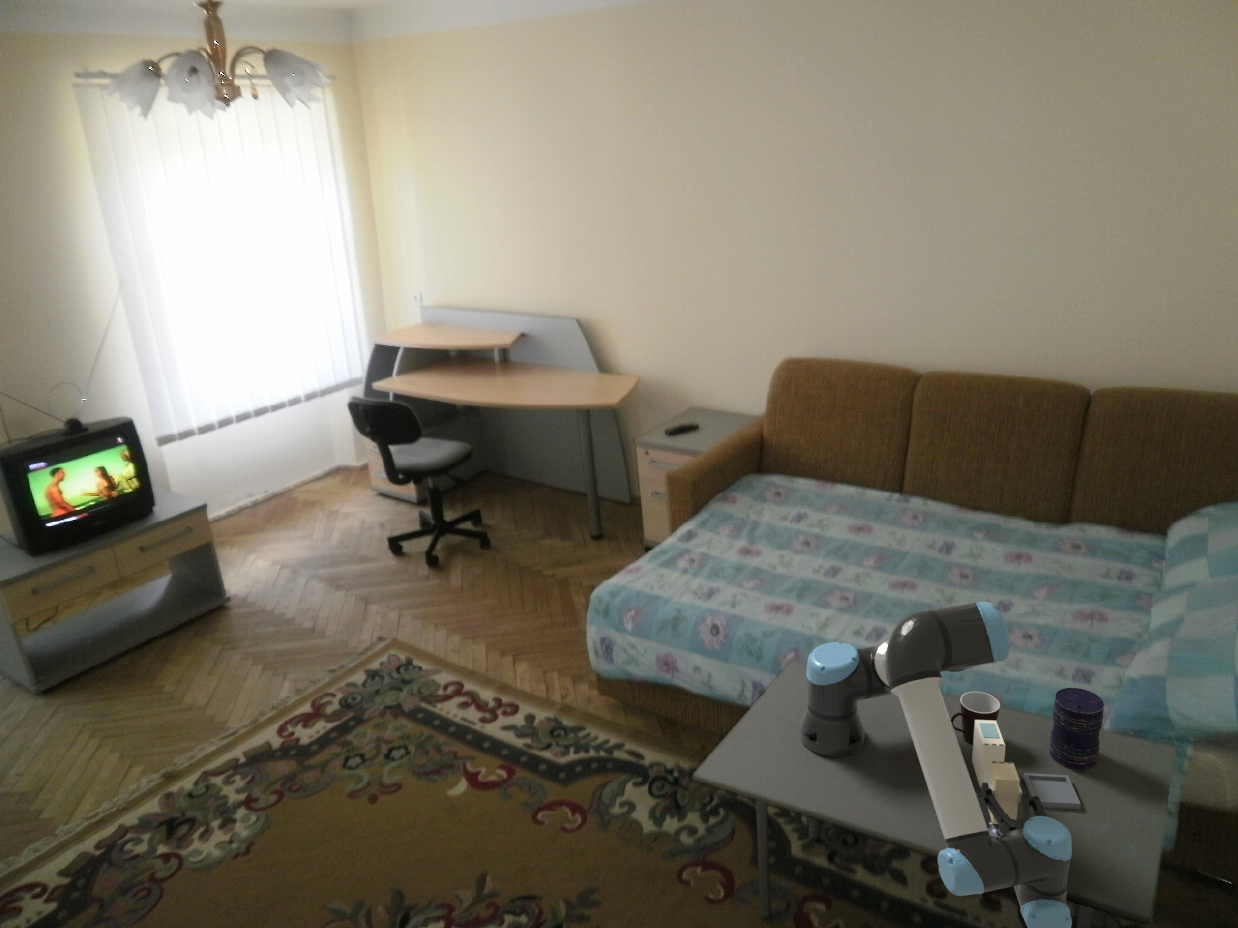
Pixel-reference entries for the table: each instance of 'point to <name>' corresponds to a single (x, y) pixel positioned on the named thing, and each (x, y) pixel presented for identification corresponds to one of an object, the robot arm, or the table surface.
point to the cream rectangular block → (1005, 787)
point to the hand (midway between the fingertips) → (998, 775)
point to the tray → (1052, 790)
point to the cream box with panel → (986, 747)
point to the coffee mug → (975, 712)
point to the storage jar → (1076, 728)
